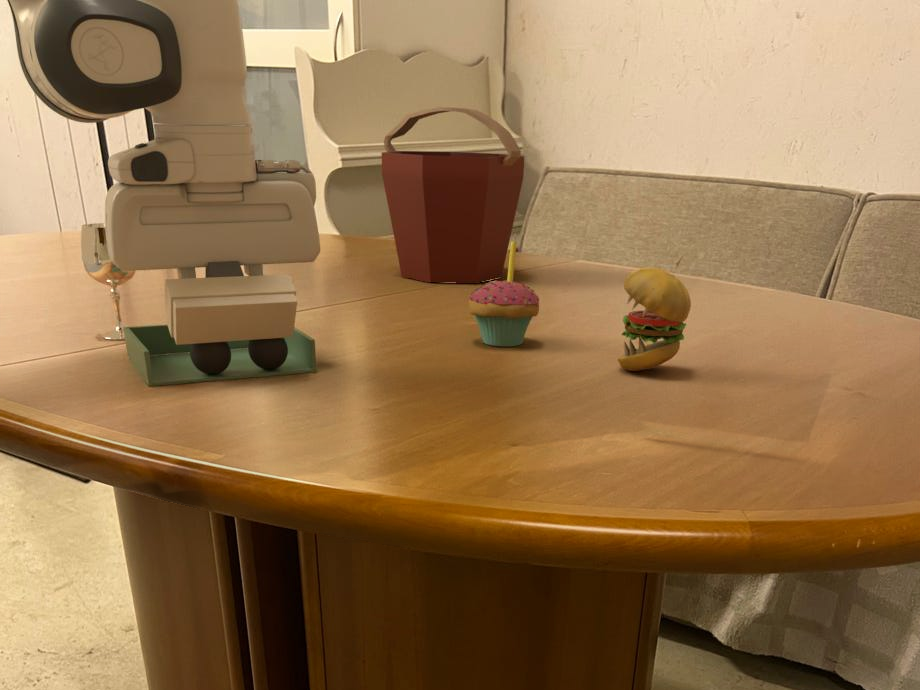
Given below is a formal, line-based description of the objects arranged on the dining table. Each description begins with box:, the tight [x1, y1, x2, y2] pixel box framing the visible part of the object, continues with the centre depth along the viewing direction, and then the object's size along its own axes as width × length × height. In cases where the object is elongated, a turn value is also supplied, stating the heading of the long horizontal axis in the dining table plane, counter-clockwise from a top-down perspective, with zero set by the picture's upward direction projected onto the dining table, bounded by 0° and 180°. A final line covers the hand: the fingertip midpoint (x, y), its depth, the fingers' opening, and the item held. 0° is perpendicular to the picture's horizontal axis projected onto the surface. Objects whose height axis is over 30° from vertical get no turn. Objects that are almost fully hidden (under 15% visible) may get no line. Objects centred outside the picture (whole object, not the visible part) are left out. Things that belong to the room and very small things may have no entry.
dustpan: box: [123, 324, 318, 387], centre depth 101 cm, size 22×17×3 cm
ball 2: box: [248, 338, 288, 370], centre depth 95 cm, size 4×4×4 cm
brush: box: [164, 261, 298, 345], centre depth 91 cm, size 5×12×7 cm
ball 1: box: [189, 342, 232, 375], centre depth 93 cm, size 4×4×4 cm
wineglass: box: [80, 222, 136, 341], centre depth 106 cm, size 6×6×12 cm
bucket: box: [381, 106, 525, 283], centre depth 152 cm, size 24×22×25 cm
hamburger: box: [617, 254, 692, 372], centre depth 98 cm, size 8×7×12 cm
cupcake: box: [468, 233, 540, 348], centre depth 109 cm, size 9×8×12 cm
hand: (224, 313), depth 94 cm, fingers closed on brush, 3 cm apart
